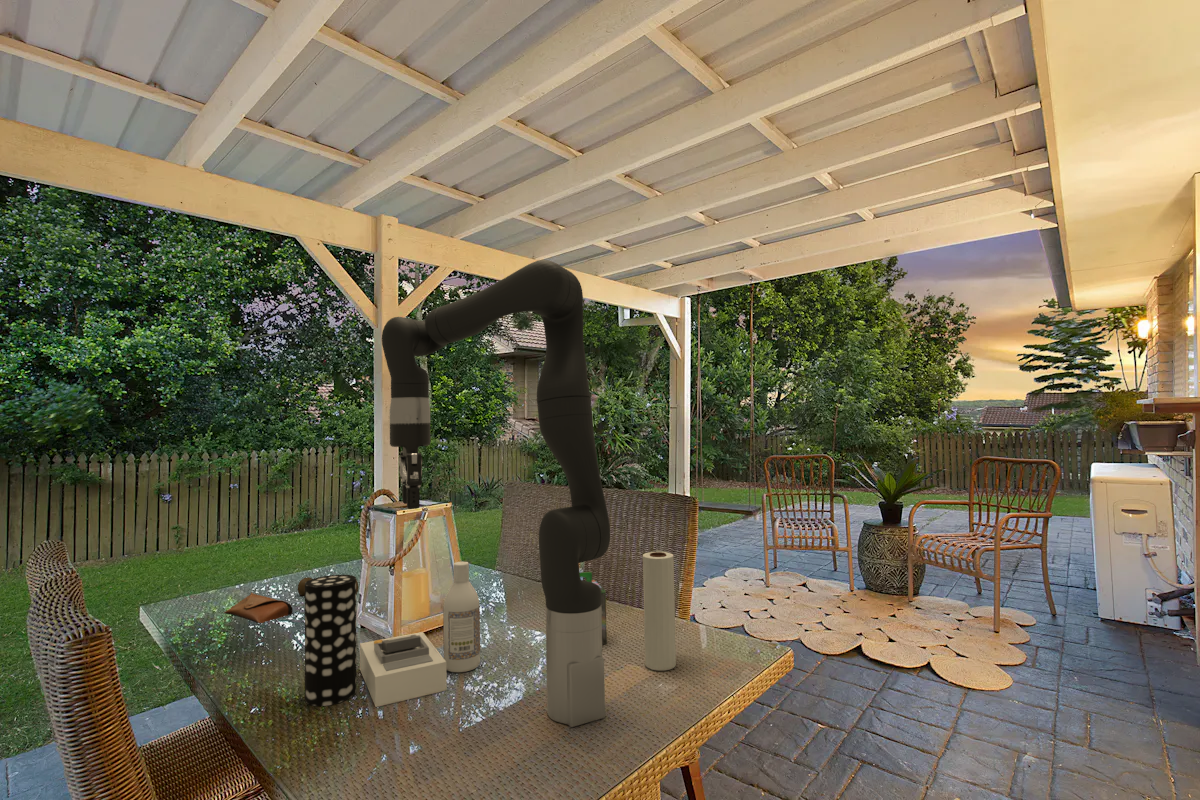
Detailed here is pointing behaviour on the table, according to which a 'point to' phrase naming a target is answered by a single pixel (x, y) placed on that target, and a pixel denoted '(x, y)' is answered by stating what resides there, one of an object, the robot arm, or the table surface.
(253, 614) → the sunglasses case
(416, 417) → the robot arm
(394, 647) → the rocker paddle
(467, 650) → the bath foam
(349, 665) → the spotted tube
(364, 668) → the switch box
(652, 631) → the paper towel roll
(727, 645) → the table surface
